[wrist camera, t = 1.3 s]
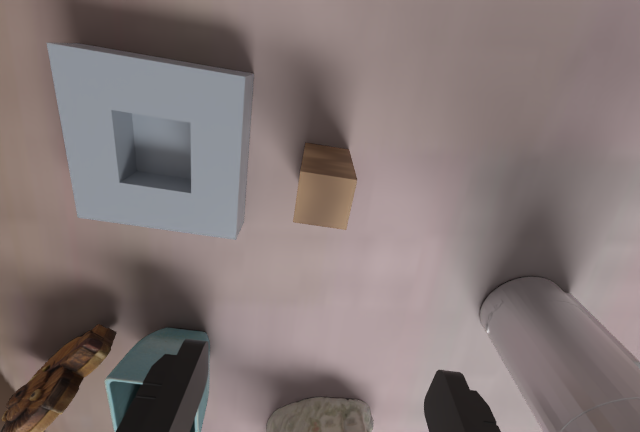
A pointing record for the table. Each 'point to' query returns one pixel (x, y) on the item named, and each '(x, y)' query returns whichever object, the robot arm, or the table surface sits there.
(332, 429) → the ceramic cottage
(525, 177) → the table surface
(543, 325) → the robot arm
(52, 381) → the wooden carving
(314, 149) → the wooden block
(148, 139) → the holder
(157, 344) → the flower pot
